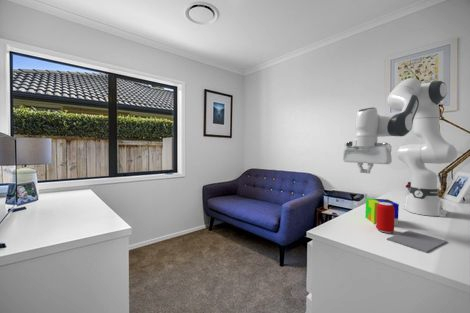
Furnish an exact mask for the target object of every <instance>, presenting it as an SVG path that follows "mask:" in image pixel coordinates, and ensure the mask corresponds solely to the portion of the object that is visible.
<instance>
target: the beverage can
mask: <svg viewBox="0 0 470 313" xmlns="http://www.w3.org/2000/svg"><path fill="white" fill-rule="evenodd" d="M394 217H395V208H394V206H393V204H391V203H386V202H380V203H379V204H378V205H377V220H376V224H375V226H376V227H375V229H376V230H378V231H379V232H380V233H385V234H391V233H394V231H395V225H394Z"/></svg>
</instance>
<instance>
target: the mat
mask: <svg viewBox="0 0 470 313" xmlns="http://www.w3.org/2000/svg"><path fill="white" fill-rule="evenodd" d="M386 240H387V241H389V242H390V241H391V242H393V243H395V244H399V245H402V246H405V247H407V248H408V247H409V248H411V249H414V250H416V251H417V250H418V251H419V252H423V253H425V254H427V253H429V252H431V251H433V250H435V249H438V248H439V247H440V246H443V245H445V244H446V243H448V240H446V239H442V238H438V237H435V236H432V235H427V234H423V233H420V232H416V231H412V230H406V231H403V232H401V233H398V234H395V235H393V236H390V237H387V238H386ZM444 243H445V244H444Z"/></svg>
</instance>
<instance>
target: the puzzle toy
mask: <svg viewBox="0 0 470 313" xmlns="http://www.w3.org/2000/svg"><path fill="white" fill-rule="evenodd" d="M380 202H386V203H391V204H393V206H394V208H395V217H394V226H399V210H400V209H399V203H397V202H395V201H393V200H391V199H387V198H386V199H384V198H365V219H367V220H369V222H370V223H373V224H374V225H376V220H377V205H378V204H379V203H380Z"/></svg>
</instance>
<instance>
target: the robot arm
mask: <svg viewBox="0 0 470 313" xmlns="http://www.w3.org/2000/svg"><path fill="white" fill-rule="evenodd" d="M447 94H448V87H447V85H446V83H445V82H443V80H432V81H431V82H430V81H429V82H424V83H421V82H420V80H418V79H417V78H413V77H409V78H406V79H404V80H402V81H401V82H399V83H398V84H397V85H396V86H395V87H394V88H393V89H392V91H391V92H390V93H389V94H388V96H387V99H386V102H387V105H388V106H389V108H391V109H392V110H394V111H397V112H398V113H394V114H387V115H380V114H379V113H378V110H377V107H367V108H362V109H359V110H358V111H357V113H356V118H355V127H354V128H355V132H356V133H355V136H354V139H352V140H349V141H347V142H345V143H344V147H345V148H344V149H343V152H342V160H343V162H344V163H354V164H355V163H356V164H357V168H359V173H361V174H371V170H372V168H373V167H374V165H390V164H391V163H393V162H392V161H393V160H392V159H393V158H392V153H391V152H392V145H391V144H390V143H389V142H378V141H379V140H378V137H379V138H380V137H381V138H382V137H404V136H406V135H407V134H409V133H410V132H411V131H412V133H413V135H415V136H416V137H419V138H421V139H423V140H424V143H409V144H404V145H400V146H399V147H398V149H397V151H396V154H397V158H398V160H400V161H401V162H402V163H404V164H405V166H406V167H407V169H408V172H409V173H410V186H409V194H407V195H406V198H405V200H406V201H405V206H402V209H403V210H405V211H407V212H409V213H413V214H417V215H422V216H429V217H431V216H432V217H441V218H445V217H446V216H447V215H448V213H449V210H446V209H444V208H443V204H444V202H443V201H442V200H441V198H440V197H439V192H440V188H438V175H437V174H436V172H434V171H433V170H431V169H429V168H427V167H426V166H425V164H438V165H439V164H448V163H449V164H451V163H452V162H454V161H455V160H456V158H458V151H457V148H456V147H455V146H454V145H453V144H451V143H449V142H447V141H446V140H445V138H444V137H443V136H442V134H441V126H440V123H441V122H440V118H441V116H440V113H441V112H440V106H439V104H441V101H443V100H444V99H445V98H446V96H447ZM364 164H367V168H364V167H363V166H364Z"/></svg>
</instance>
